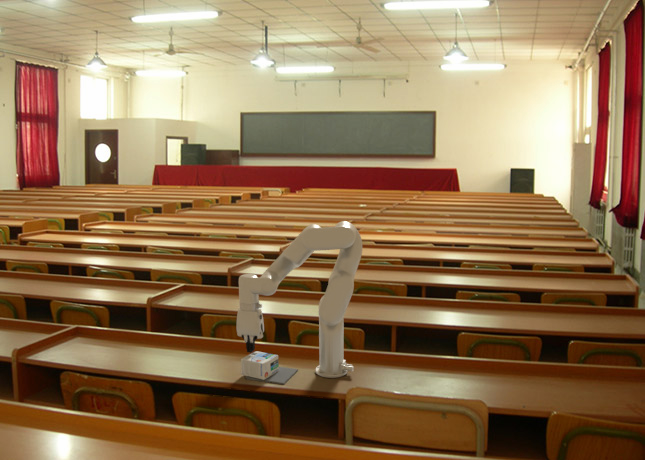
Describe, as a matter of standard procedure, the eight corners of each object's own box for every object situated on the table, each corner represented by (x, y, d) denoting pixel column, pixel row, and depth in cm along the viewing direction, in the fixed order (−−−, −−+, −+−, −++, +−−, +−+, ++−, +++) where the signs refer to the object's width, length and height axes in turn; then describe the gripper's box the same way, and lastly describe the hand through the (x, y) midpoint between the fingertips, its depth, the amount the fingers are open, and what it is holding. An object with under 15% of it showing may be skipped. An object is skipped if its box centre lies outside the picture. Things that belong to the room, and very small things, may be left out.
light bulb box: (256, 350, 248) (279, 354, 243) (256, 366, 249) (279, 371, 244) (240, 358, 239) (263, 363, 234) (240, 375, 240) (263, 380, 235)
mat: (297, 370, 246) (297, 369, 246) (284, 384, 233) (284, 383, 233) (261, 365, 251) (261, 364, 251) (245, 378, 238) (245, 377, 238)
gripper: (270, 305, 241) (271, 350, 245) (236, 301, 246) (237, 346, 250) (262, 310, 235) (263, 356, 238) (227, 307, 239) (229, 352, 243)
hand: (250, 351), depth 244 cm, fingers closed
